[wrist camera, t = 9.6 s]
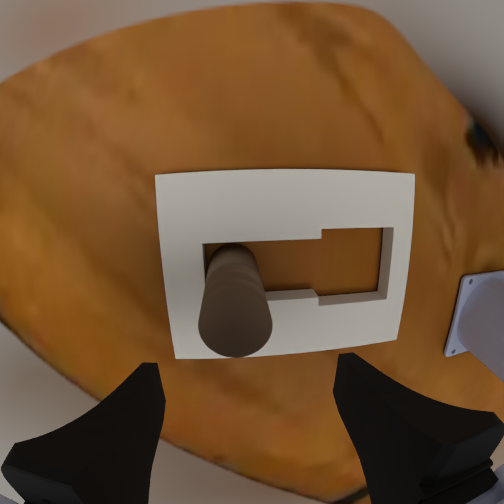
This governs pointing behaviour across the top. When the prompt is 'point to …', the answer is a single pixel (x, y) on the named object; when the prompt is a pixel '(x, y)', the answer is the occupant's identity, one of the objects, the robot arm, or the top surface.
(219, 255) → the peg
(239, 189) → the keyhole plate
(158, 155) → the top surface
